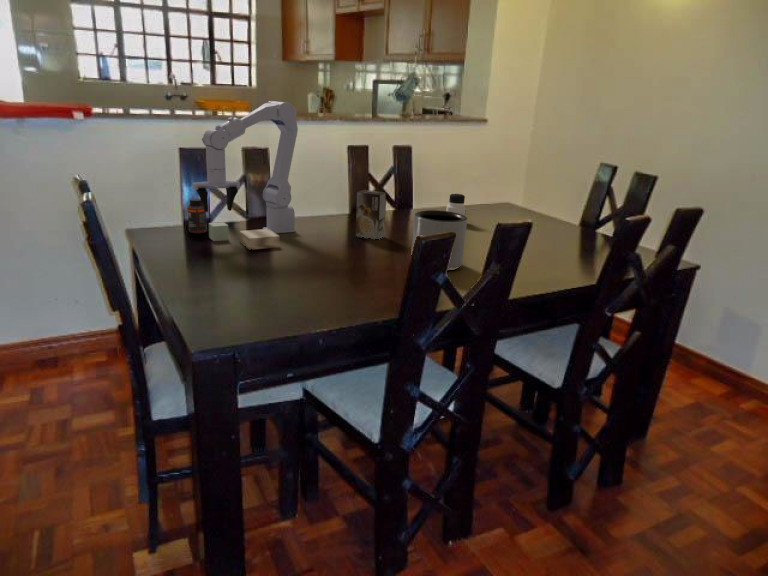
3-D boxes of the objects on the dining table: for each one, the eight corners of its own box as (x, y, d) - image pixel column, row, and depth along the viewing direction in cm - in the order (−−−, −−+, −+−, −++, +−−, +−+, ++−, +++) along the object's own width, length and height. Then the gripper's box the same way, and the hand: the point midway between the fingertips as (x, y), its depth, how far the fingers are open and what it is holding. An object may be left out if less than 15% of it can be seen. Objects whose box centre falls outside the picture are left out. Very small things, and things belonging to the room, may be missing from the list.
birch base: (269, 240, 190) (268, 228, 188) (279, 248, 182) (279, 236, 180) (239, 242, 185) (239, 231, 183) (249, 250, 177) (248, 238, 175)
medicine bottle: (464, 225, 227) (467, 196, 223) (446, 224, 227) (449, 195, 223) (462, 221, 234) (465, 193, 230) (445, 220, 234) (447, 192, 230)
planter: (433, 255, 184) (437, 207, 178) (472, 267, 173) (478, 217, 168) (399, 263, 173) (403, 213, 168) (439, 276, 162) (444, 223, 157)
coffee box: (385, 236, 202) (387, 192, 197) (378, 240, 197) (380, 194, 191) (361, 233, 206) (364, 189, 200) (354, 236, 200) (356, 191, 195)
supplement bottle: (209, 230, 196) (208, 198, 192) (202, 234, 190) (201, 201, 186) (193, 229, 196) (191, 197, 193) (185, 233, 191) (183, 200, 187)
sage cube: (224, 236, 190) (223, 222, 188) (228, 240, 186) (228, 225, 184) (209, 237, 187) (208, 223, 186) (213, 241, 183) (212, 226, 182)
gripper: (196, 170, 172) (198, 214, 177) (242, 169, 180) (243, 211, 184) (190, 167, 178) (192, 209, 182) (235, 166, 185) (236, 207, 190)
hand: (217, 210), depth 183 cm, fingers open, 7 cm apart
